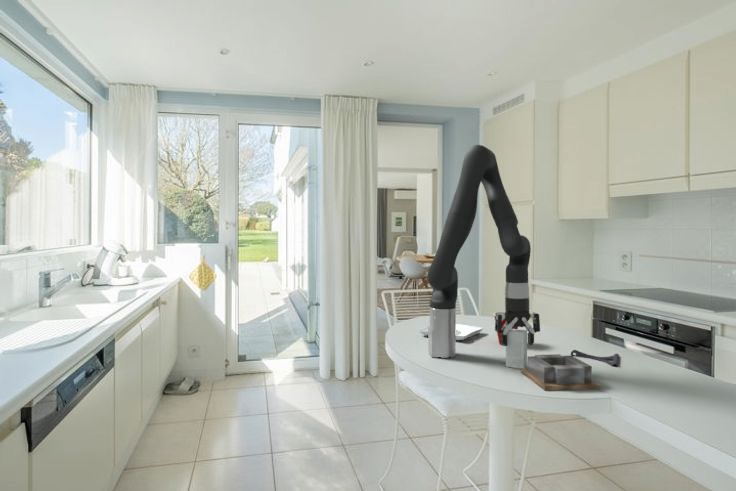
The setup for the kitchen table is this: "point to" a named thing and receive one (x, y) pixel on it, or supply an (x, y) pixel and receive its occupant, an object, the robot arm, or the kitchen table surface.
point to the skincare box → (516, 348)
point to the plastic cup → (502, 325)
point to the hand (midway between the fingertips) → (517, 345)
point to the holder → (559, 372)
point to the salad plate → (464, 329)
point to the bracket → (603, 359)
